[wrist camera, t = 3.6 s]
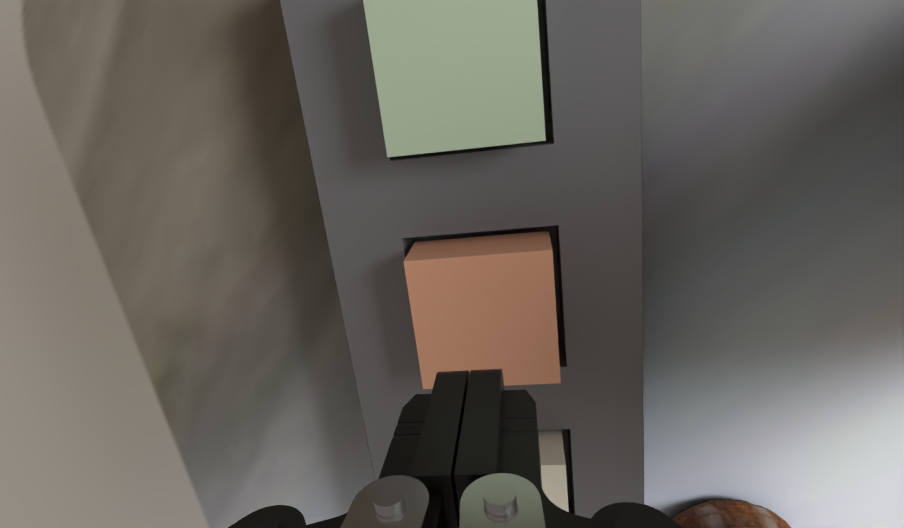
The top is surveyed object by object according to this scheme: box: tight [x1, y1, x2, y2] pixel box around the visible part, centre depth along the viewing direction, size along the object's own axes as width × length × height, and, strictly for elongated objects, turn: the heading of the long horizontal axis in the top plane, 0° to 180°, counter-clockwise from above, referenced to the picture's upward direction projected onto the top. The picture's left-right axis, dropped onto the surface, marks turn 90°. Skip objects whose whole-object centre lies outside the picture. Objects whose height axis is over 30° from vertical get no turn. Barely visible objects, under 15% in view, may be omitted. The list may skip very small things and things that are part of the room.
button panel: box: [280, 0, 644, 519], centre depth 19 cm, size 22×10×3 cm, turn 7°
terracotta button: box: [403, 231, 561, 389], centre depth 18 cm, size 4×4×2 cm
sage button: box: [363, 0, 546, 157], centre depth 15 cm, size 4×4×2 cm
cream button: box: [538, 429, 569, 512], centre depth 20 cm, size 4×4×2 cm
